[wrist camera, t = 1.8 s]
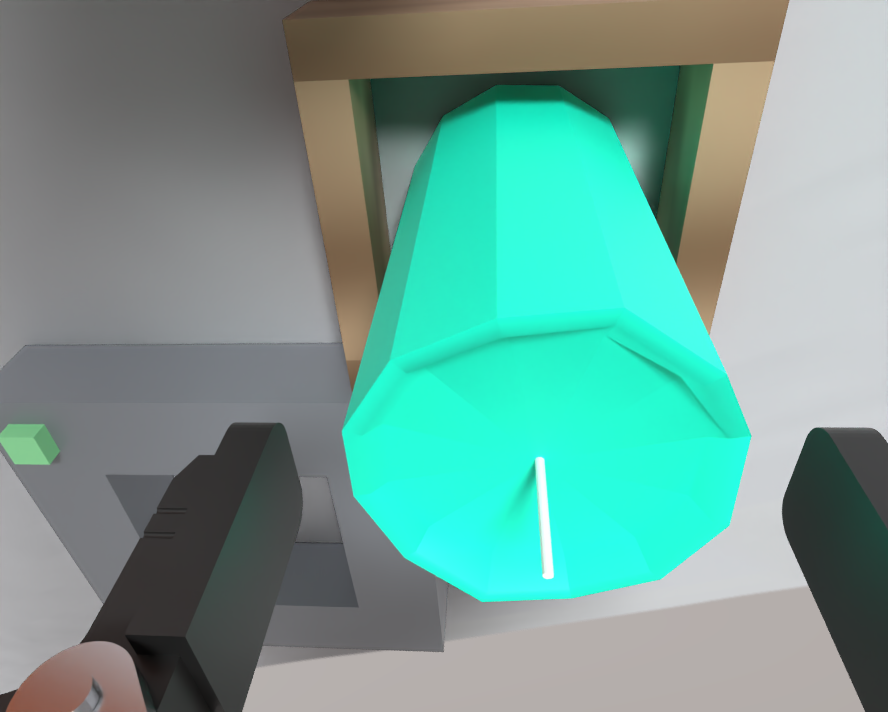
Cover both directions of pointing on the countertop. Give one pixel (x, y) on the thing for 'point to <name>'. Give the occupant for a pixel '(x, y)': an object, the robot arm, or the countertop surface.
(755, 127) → the holder ring
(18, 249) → the countertop surface
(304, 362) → the frame
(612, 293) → the candle
